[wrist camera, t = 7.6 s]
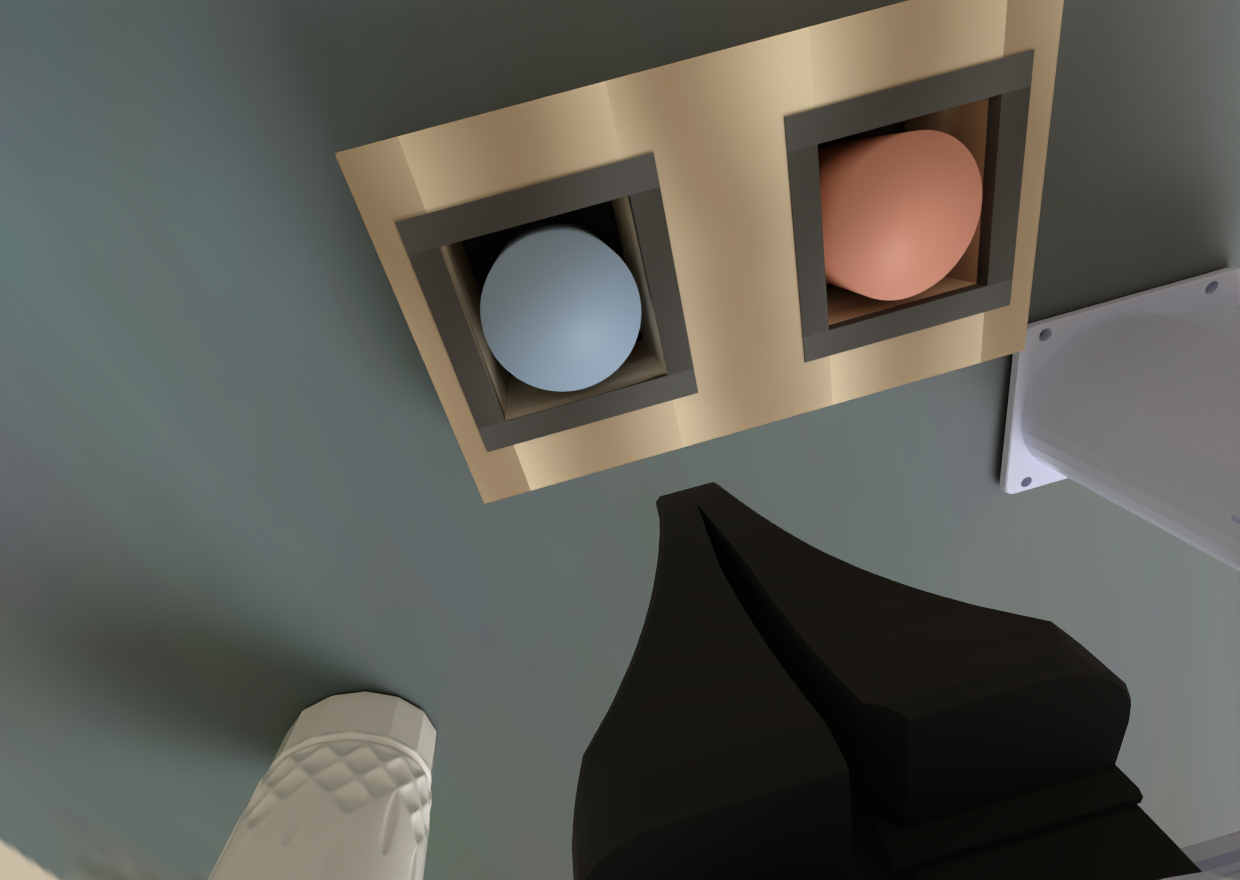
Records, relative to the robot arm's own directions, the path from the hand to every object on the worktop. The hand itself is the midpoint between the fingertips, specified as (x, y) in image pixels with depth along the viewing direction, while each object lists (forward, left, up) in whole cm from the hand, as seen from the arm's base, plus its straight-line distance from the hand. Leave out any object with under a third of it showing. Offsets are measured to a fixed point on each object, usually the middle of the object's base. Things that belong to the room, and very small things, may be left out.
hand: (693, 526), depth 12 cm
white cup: (+17, +14, -10) cm, 24 cm away
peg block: (-3, -4, -9) cm, 11 cm away
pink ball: (-8, -4, -9) cm, 13 cm away
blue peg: (+2, -4, -9) cm, 10 cm away
